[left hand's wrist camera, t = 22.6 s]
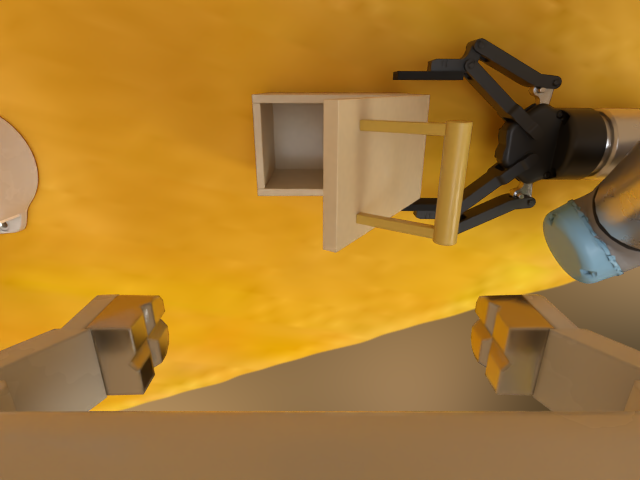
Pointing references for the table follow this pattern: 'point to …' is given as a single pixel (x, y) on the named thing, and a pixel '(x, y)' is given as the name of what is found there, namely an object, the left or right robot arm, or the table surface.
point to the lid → (387, 168)
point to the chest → (292, 141)
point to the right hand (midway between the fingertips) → (390, 143)
